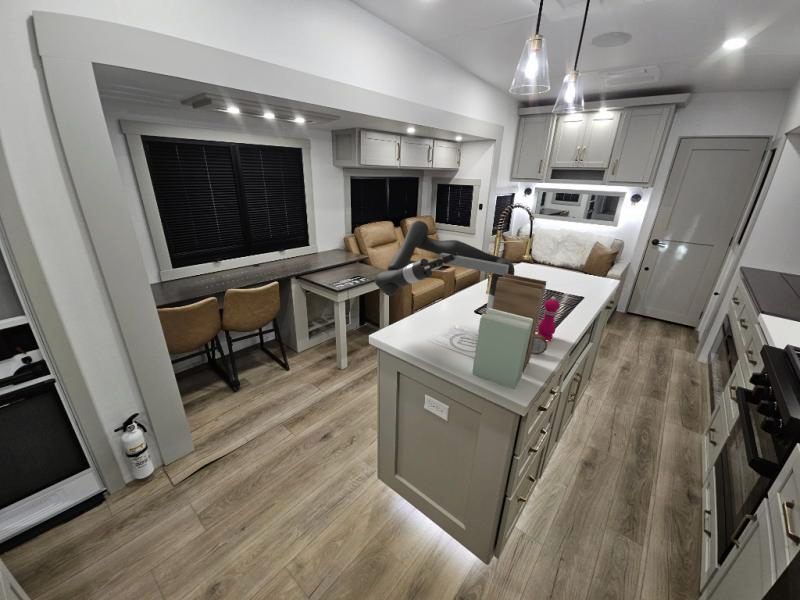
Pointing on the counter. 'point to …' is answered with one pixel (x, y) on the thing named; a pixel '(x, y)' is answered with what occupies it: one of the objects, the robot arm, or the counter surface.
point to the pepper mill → (548, 319)
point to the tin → (539, 344)
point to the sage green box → (501, 347)
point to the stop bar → (477, 264)
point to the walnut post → (520, 301)
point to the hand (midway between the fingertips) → (455, 256)
